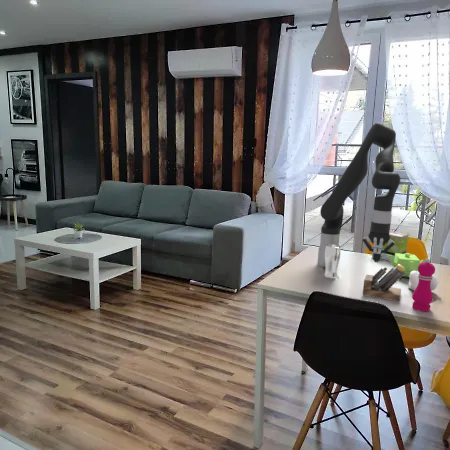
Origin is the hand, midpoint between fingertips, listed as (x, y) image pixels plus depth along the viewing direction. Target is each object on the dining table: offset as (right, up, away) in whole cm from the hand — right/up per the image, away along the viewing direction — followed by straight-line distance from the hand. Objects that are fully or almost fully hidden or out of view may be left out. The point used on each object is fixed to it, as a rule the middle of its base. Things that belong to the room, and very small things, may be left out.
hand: (376, 261), depth 174 cm
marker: (+2, -10, +1) cm, 11 cm away
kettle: (+23, -9, +28) cm, 37 cm away
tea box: (+28, -3, +58) cm, 64 cm away
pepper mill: (+13, -17, -12) cm, 25 cm away
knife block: (+3, -14, +1) cm, 14 cm away
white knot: (+21, -13, +8) cm, 26 cm away
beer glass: (-13, -9, +23) cm, 28 cm away
